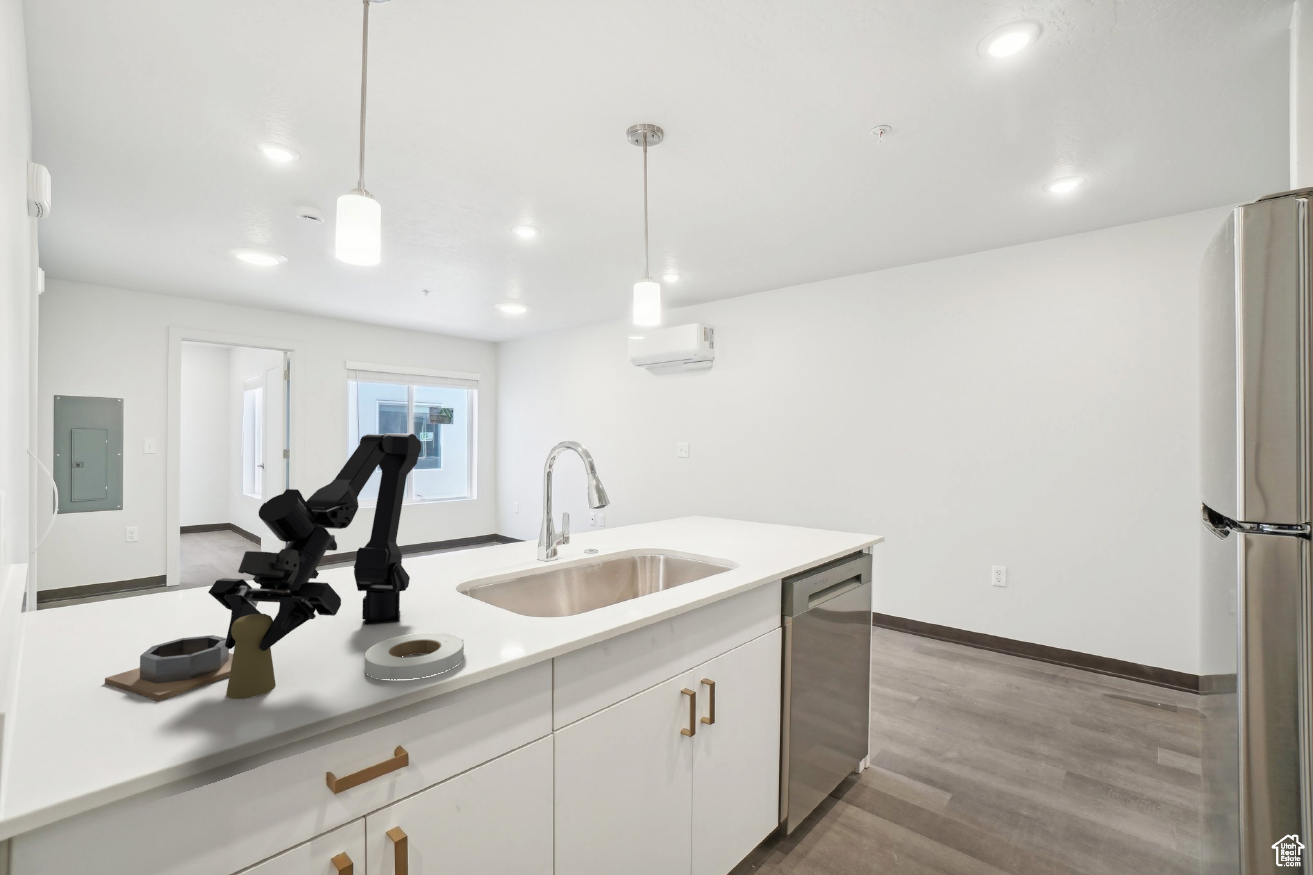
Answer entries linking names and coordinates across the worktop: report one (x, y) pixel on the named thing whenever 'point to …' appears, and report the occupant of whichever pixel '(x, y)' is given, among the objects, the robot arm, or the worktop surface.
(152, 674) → the metal collar
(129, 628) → the worktop surface
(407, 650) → the roll of tape
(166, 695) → the walnut plate
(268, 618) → the cork
